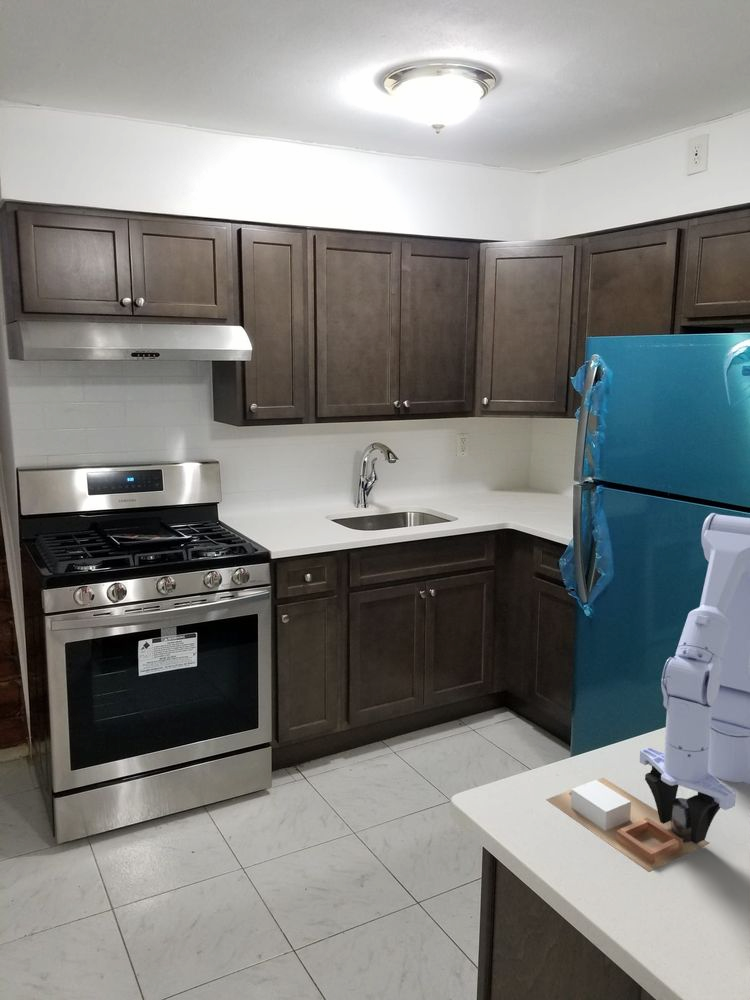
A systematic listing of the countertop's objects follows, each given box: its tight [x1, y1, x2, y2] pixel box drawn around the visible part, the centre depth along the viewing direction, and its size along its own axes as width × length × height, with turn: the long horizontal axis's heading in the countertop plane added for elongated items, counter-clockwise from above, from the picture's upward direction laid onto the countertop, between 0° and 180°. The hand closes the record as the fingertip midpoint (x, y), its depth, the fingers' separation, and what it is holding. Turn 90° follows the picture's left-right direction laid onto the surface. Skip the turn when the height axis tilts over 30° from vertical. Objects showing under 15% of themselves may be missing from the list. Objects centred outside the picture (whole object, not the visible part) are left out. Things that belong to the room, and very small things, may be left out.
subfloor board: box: [546, 777, 710, 873], centre depth 117 cm, size 12×20×2 cm, turn 30°
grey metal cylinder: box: [671, 797, 691, 843], centre depth 112 cm, size 3×3×5 cm
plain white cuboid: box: [570, 779, 631, 831], centre depth 118 cm, size 5×7×3 cm
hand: (682, 830), depth 112 cm, fingers open, 5 cm apart
